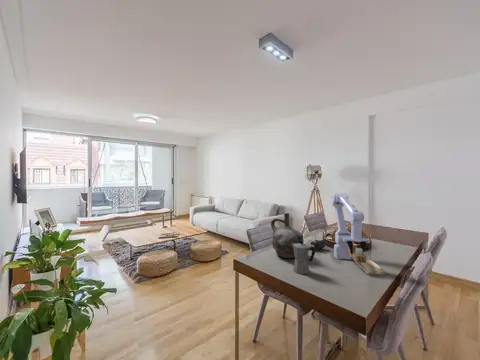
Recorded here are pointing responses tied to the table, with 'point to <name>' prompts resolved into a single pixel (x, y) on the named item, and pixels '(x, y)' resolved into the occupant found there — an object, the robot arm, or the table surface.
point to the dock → (371, 267)
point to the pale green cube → (358, 251)
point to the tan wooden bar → (357, 256)
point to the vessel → (285, 238)
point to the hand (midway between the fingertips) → (356, 253)
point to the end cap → (318, 245)
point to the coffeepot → (302, 257)
